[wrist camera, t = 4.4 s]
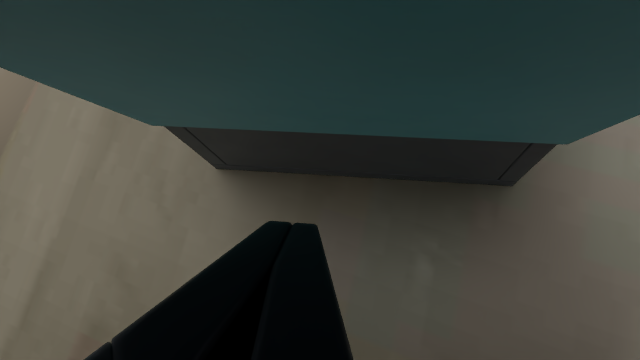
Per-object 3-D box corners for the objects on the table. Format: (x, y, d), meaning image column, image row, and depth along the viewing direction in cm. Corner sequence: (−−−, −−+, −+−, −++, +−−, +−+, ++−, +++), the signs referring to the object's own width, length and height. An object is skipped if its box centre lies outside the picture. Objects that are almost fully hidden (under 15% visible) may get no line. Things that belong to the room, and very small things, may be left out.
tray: (251, -71, 26) (212, -183, 20) (512, -76, 24) (554, -202, 18) (215, 168, 23) (156, 120, 17) (512, 186, 21) (564, 139, 15)
